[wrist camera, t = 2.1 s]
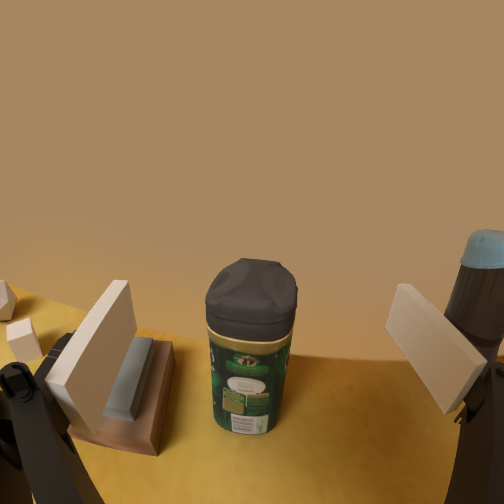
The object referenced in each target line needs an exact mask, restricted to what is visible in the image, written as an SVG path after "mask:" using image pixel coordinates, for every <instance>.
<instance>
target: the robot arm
mask: <svg viewBox="0 0 504 504" xmlns="http://www.w3.org/2000/svg"><path fill="white" fill-rule="evenodd" d="M460 263H461V267H460V270H459V273H458V276H457V279H456V282H455V286H454V288H453V291H452V294H451V297H450V300H449V303H448V305H447V308H446V310H445V313H444V315H442V314H441V313H440V312H439V311H438V310H437V309H436V308H435V307H434V306H433V305H432V304H431V303H430V302H429V301H428V300H427V299H426V298H425V297H423V296H422V295H421V294H420V293H419V292H418V291H417V290H416V289H415V288H414V287H412V285H410V284H398V286H397V290H396V293H395V297H394V300H393V304H392V307H391V310H390V313H389V316H388V319H387V322H386V325H385V329H386V331H387V332H388V333H389V335H390V336H391V337H392V339H393V340H394V341H395V343H396V344H397V346H398V347H399V348H400V350H401V351H402V353H403V354H404V356H405V357H406V358H407V360H408V361H409V363H410V364H411V366H412V367H413V368H414V370H415V371H416V373H417V374H418V376H419V377H420V379H421V380H422V382H423V383H424V385H425V386H426V388H427V389H428V391H429V392H430V394H431V395H432V397H433V398H434V400H435V401H436V403H437V404H438V406H439V408H440V409H441V411H442V412H443V414H444V415H445V414H448V413H450V412H453V411H455V410H456V409H457V408H458V407H459V405H460V404H461V402H462V401H463V400H464V402H465V403H466V405H465V406H464V408H463V409H462V410H461V412H460V413H459V414H458V416H457V417H456V418H455V420H454V423H456V422H457V421H458V419H459V418H460V417H462V419H461V421H460V422H459V423H458V424H461V427H460V435H459V441H458V447H457V453H456V458H455V463H454V468H453V472H452V477H451V481H450V485H449V488H448V492H447V495H446V499H445V502H444V504H504V363H501V362H496V358H497V354H498V350H499V345H500V343H501V341H502V339H503V338H504V231H498V230H487V229H485V230H478V231H475V232H473V233H472V234H471V235H470V237H469V239H468V241H467V245H466V248H465V252H464V255H463V256H462V258H461V261H460ZM136 331H137V327H136V321H135V316H134V311H133V305H132V300H131V293H130V287H129V281H126V280H113V282H112V283H111V284H110V286H109V287H108V288H107V289H106V291H105V292H104V293H103V295H102V296H101V297H100V299H99V300H98V301H97V303H96V304H95V305H94V307H93V308H92V309H91V311H90V312H89V314H88V315H87V316H86V318H85V319H84V321H83V322H82V323H81V325H80V326H79V328H78V329H77V331H76V332H75V333H74V334H72V333H66V334H65V335H64V336H62V337H61V338H60V339H58V340H57V342H56V343H55V345H54V346H53V348H52V350H50V352H49V353H48V356H47V357H46V358H45V359H44V361H43V362H42V364H41V365H40V367H39V368H38V370H37V371H36V373H35V374H34V376H33V375H32V373H31V372H30V370H29V368H28V366H27V365H26V364H24V363H22V362H12V363H9V364H7V365H5V366H4V367H3V368H2V369H1V370H0V386H1V388H2V390H3V391H0V504H33V499H32V494H33V496H34V499H35V501H36V504H105V503H104V501H103V500H102V498H101V496H100V495H99V493H98V491H97V489H96V488H95V486H94V484H93V482H92V480H91V479H90V477H89V475H88V473H87V471H86V469H85V467H84V465H83V463H82V461H81V459H80V457H79V455H78V452H77V450H76V448H75V446H74V443H73V441H72V439H71V436H70V434H69V433H68V431H67V430H68V427H69V425H70V424H71V425H72V427H73V428H74V430H75V431H76V432H77V433H81V434H84V435H88V436H92V437H95V434H96V431H97V428H98V426H99V423H100V420H101V417H102V414H103V412H104V409H105V406H106V404H107V401H108V398H109V396H110V393H111V391H112V388H113V385H114V383H115V380H116V378H117V375H118V373H119V370H120V368H121V366H122V363H123V361H124V358H125V356H126V354H127V351H128V349H129V347H130V344H131V342H132V340H133V338H134V335H135V333H136ZM31 491H32V492H31Z"/></svg>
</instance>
